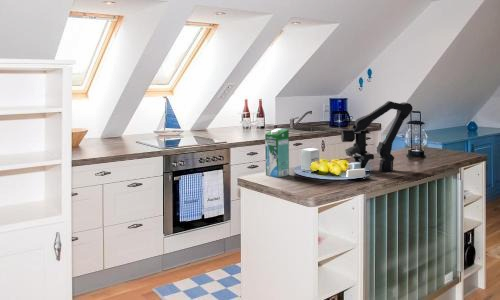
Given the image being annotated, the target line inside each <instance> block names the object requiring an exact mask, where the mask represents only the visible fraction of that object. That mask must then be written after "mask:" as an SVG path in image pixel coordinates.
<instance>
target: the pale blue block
mask: <svg viewBox="0 0 500 300" xmlns="http://www.w3.org/2000/svg"><path fill="white" fill-rule="evenodd" d="M349 164H352V169H361V163H360V162H355V161H354V162H350V163H349ZM364 169H365V170H370V171H371V162H370V161H368V163H367V164H366V166H365V168H364Z"/></svg>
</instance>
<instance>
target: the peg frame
mask: <svg viewBox="0 0 500 300" xmlns="http://www.w3.org/2000/svg"><path fill="white" fill-rule="evenodd" d="M347 164H348V167H349V168H346V169H347V171H345V172H344V173H346V177H360V176H365V178H363V179H366V172H365V169H364V168H363V169H352V164H350V163H347ZM363 179H362V180H363Z"/></svg>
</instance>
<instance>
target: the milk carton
mask: <svg viewBox="0 0 500 300" xmlns="http://www.w3.org/2000/svg"><path fill="white" fill-rule="evenodd" d="M289 132H290V130H289V129H288V128H280V127H279V128H278V127H277V128H274V129H272V130H270V131H268V132H266V133H265V136H264V139H265V140H264V142H265V145H264V146H265V148H264V149H265V176H268V177H273V178H282V177H286V176H289V175H290V144H289V143H290V140H289V138H290V137H289V136H290V135H289V134H290V133H289Z"/></svg>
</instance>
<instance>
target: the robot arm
mask: <svg viewBox="0 0 500 300" xmlns="http://www.w3.org/2000/svg"><path fill="white" fill-rule="evenodd" d="M391 110H396V116H395V118H394V121H393V123H392V124H391V127H390V128H389V130H388V133H387V135H386V136H385V139H384V140H383V141H382V142H381V141H379V142H378V145H377V147H376V154H377V155H378V156H379V158H380V160H379V168H378V171H381V172H383V173H389V172H390V173H391V172H395V169H394V160H395V156H394V155H393V154H391V153H392V150H393V149H392V148H393V143H394V141H395V139H396V137H397V135H398V133H399V131H400V129H401V127H402V125H403V123H404V121H405V120H406V119H407V118H408V117H409V116H410V114H411V113H412V112H413V106H412V104H411V103H409V102H400V103H399V102H395V101H390V100H388V101H386V102H385V103H384V104H382V105H380V106H379V107H378V108H376V109H375V110H373V111H372V112H370V113H369V114H366V115H364V116H360V117H358V118H357V119H355V121H354V125H353V126H352V127H351V128H350V129H342V130H341V131H342V132H341V136H340V139H341V142H342V143H353V142H354V143H353V145H352V146H350V147H348V148H346V149H345V150H344V151H345V154H346V156H348V157H351V158H352V159H353V160H354V162H360V163H361V169H363V168H365V166H366V164H367V163H368V162H370V160H374V159H375V155H374V154H373V153H371V152H368V150H367V147H368V146H369V145H368V143H367V134H369V135H370V134H371V132H370V130H368V127H369V126H370V125H371V124H372V123H373V122H374V121H376V120H377V119H379V117H381V116H383V115H384V114H386V113H387V112H389V111H391Z"/></svg>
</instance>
